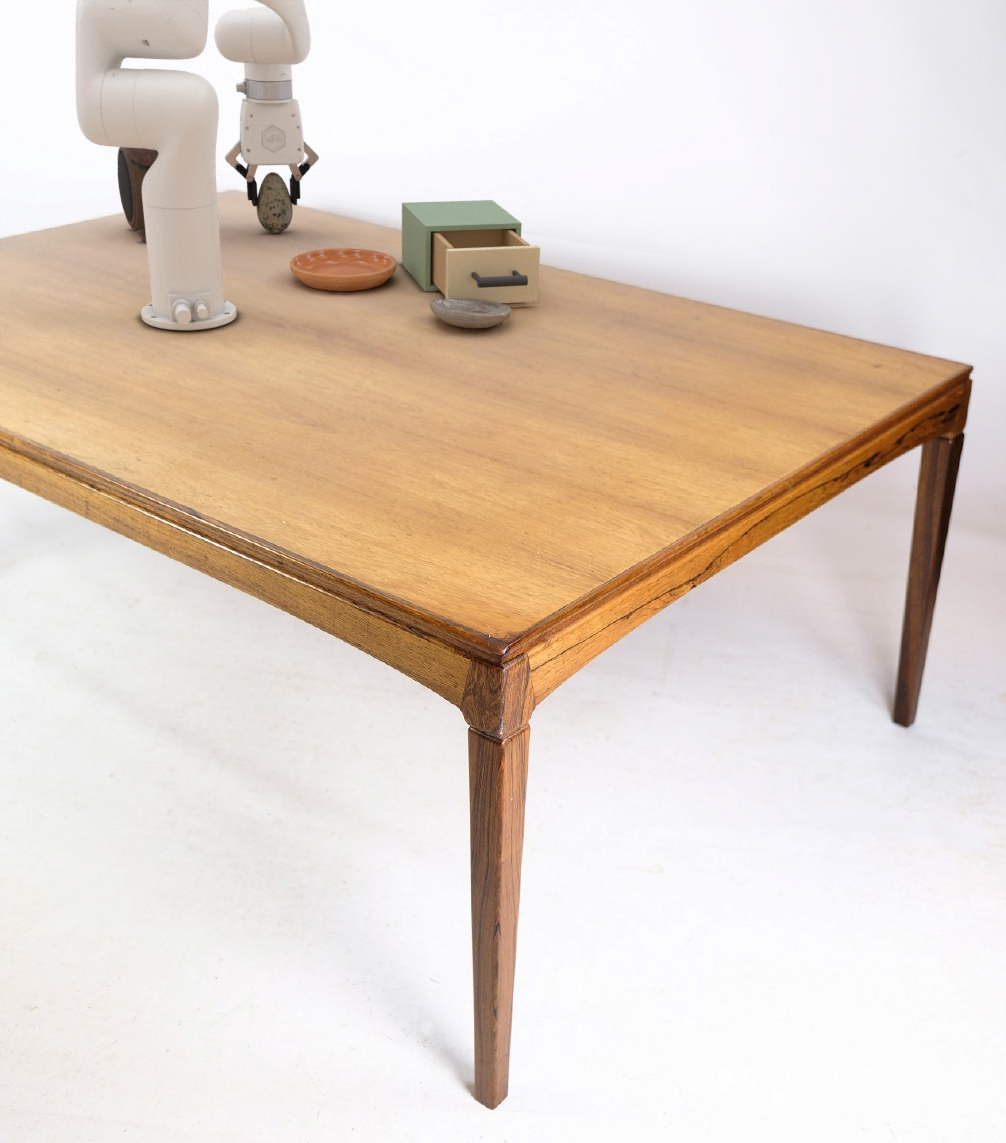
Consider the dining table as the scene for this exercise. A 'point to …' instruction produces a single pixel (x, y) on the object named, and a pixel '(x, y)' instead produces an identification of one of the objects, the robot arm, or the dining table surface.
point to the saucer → (343, 268)
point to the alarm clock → (134, 183)
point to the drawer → (485, 265)
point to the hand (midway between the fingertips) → (274, 203)
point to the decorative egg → (274, 204)
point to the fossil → (470, 312)
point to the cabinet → (445, 229)
